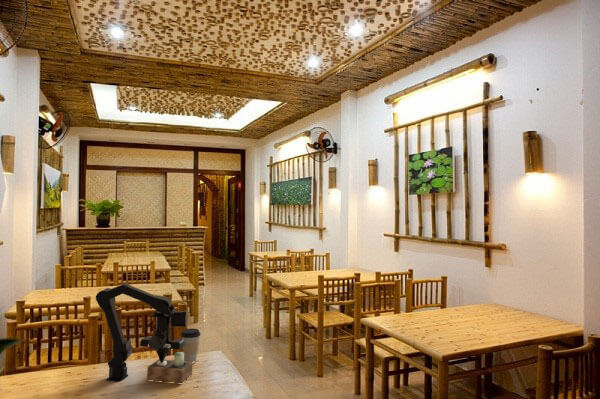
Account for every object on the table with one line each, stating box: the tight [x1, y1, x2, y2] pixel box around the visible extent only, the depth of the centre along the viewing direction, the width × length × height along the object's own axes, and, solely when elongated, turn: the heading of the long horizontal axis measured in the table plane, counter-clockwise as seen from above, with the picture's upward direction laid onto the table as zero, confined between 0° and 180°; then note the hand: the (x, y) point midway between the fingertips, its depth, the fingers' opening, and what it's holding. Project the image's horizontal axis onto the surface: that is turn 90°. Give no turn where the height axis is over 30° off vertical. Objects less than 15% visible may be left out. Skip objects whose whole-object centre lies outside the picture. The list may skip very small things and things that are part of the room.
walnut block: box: [146, 358, 193, 384], centre depth 180 cm, size 16×10×6 cm, turn 80°
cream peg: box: [157, 361, 167, 366], centre depth 180 cm, size 4×4×6 cm
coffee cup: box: [180, 328, 202, 362], centre depth 199 cm, size 9×9×15 cm
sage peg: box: [173, 351, 184, 367], centre depth 179 cm, size 4×4×6 cm
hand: (161, 362), depth 180 cm, fingers closed, pressing on cream peg
